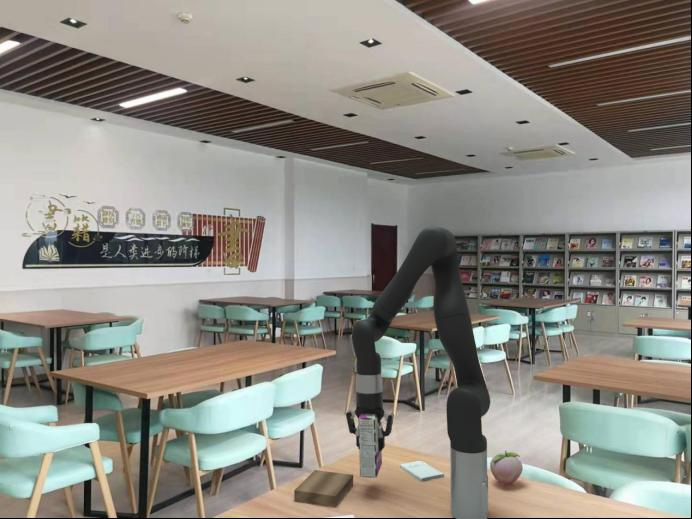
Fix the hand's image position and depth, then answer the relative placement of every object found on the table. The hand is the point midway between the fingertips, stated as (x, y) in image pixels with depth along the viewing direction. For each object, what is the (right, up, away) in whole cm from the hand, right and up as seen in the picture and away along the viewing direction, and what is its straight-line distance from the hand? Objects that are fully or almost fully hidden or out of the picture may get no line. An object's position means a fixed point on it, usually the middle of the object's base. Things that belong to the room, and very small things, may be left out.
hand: (370, 449), depth 152 cm
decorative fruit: (+39, -12, +5) cm, 42 cm away
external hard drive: (+16, -13, +15) cm, 25 cm away
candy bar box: (0, -6, 0) cm, 6 cm away
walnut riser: (-13, -12, 0) cm, 18 cm away
